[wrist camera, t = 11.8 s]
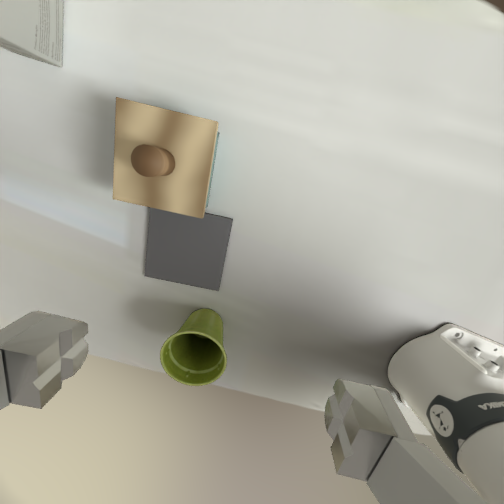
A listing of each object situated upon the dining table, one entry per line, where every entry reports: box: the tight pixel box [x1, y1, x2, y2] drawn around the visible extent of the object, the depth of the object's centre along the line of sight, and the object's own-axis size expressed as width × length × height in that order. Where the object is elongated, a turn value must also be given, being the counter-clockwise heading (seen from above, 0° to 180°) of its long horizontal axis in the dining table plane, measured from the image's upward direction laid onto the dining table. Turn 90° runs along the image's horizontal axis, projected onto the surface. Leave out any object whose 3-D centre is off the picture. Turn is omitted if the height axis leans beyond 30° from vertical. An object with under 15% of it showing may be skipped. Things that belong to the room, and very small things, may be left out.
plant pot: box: [160, 309, 227, 386], centre depth 38 cm, size 9×9×9 cm
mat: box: [145, 207, 233, 291], centre depth 37 cm, size 12×12×1 cm
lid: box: [113, 97, 219, 218], centre depth 26 cm, size 11×11×5 cm
